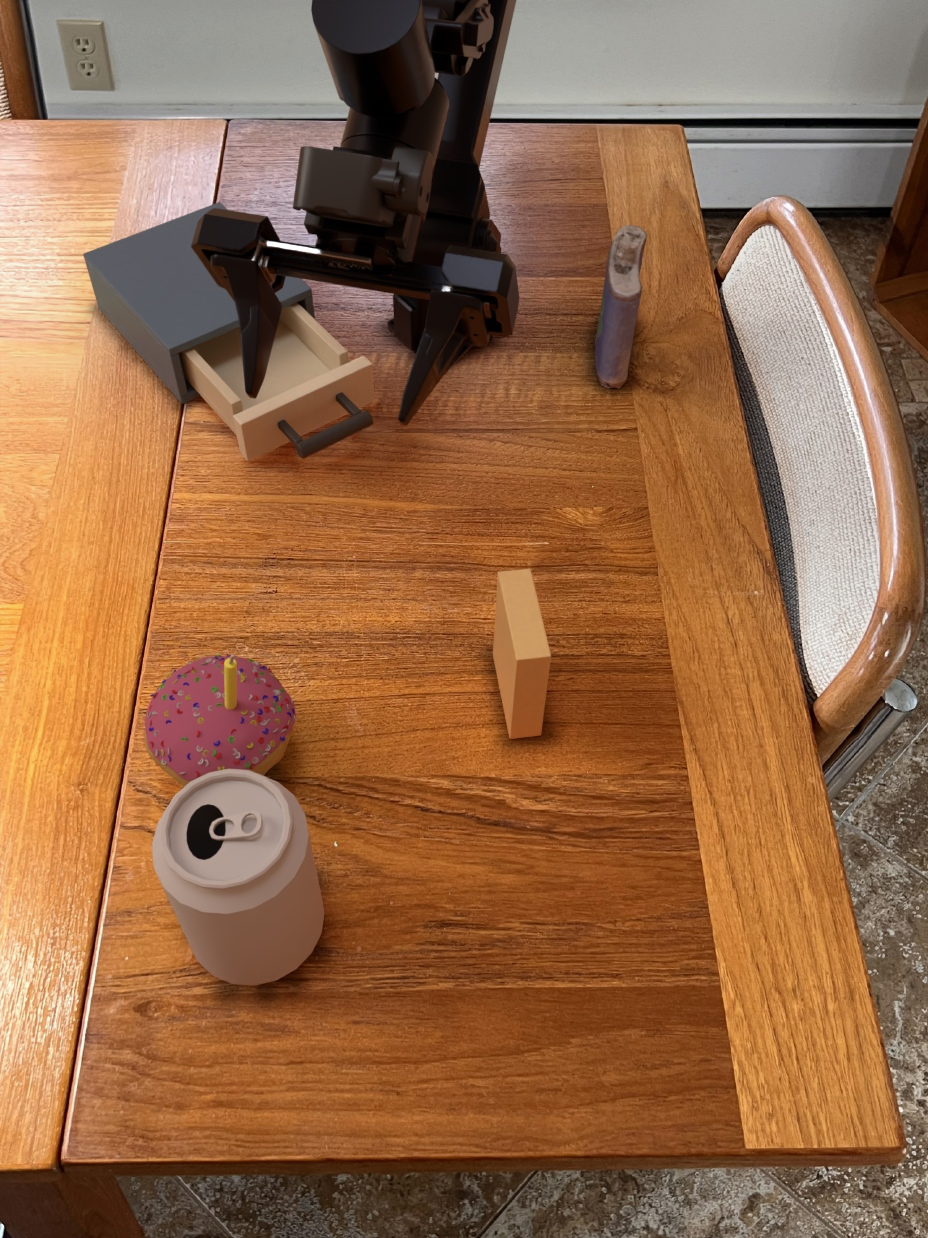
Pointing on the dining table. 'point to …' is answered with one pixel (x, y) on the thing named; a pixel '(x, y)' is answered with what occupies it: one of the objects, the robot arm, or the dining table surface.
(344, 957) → the dining table surface
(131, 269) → the cabinet
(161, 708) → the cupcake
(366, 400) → the drawer
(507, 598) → the block
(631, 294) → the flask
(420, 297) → the robot arm
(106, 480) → the dining table surface
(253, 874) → the can
